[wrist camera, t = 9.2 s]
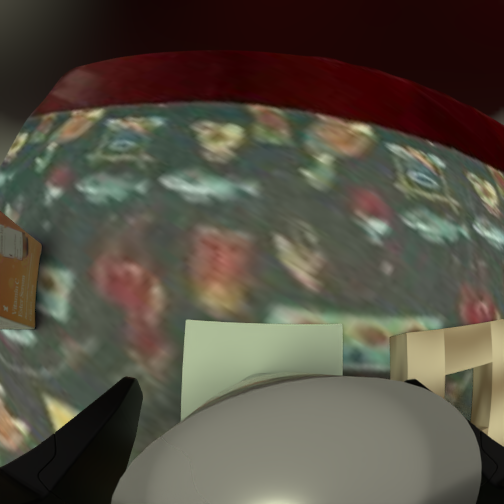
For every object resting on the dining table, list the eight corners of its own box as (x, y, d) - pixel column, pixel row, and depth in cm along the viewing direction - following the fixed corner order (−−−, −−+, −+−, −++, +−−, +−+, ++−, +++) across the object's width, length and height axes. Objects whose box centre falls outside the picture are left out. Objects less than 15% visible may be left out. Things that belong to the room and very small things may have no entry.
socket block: (488, 446, 13) (505, 449, 11) (380, 487, 13) (394, 498, 11) (492, 323, 18) (510, 317, 15) (389, 337, 18) (406, 332, 16)
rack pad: (333, 463, 14) (337, 467, 14) (184, 461, 15) (180, 465, 14) (337, 325, 18) (342, 323, 17) (189, 322, 18) (186, 319, 17)
